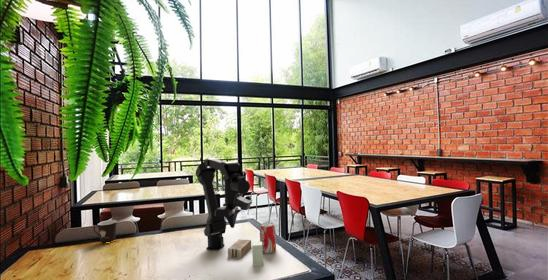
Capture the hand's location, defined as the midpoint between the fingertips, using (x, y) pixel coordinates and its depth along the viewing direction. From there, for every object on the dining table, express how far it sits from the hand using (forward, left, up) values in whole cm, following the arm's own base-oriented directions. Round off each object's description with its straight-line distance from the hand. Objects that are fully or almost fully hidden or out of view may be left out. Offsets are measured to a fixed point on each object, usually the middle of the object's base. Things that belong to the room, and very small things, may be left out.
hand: (232, 227), depth 121 cm
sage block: (+12, -4, -13) cm, 18 cm away
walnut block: (0, 0, -11) cm, 11 cm away
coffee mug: (-77, +7, -13) cm, 78 cm away
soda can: (+12, +9, -13) cm, 20 cm away
